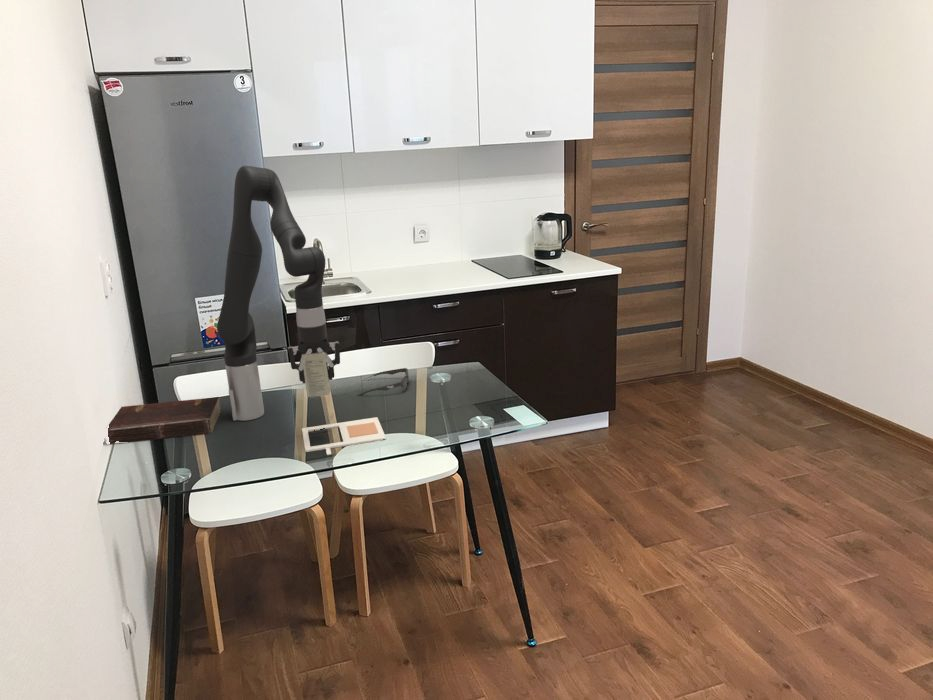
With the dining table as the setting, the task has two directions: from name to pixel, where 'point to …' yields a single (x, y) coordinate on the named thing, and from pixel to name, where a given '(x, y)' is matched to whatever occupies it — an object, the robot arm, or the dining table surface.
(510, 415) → the dining table surface
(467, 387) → the dining table surface
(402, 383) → the sunglasses
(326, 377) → the skincare box
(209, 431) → the hardback book
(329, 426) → the window card
